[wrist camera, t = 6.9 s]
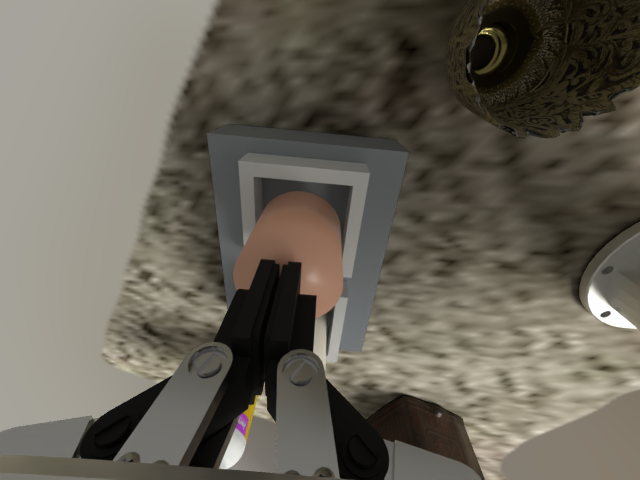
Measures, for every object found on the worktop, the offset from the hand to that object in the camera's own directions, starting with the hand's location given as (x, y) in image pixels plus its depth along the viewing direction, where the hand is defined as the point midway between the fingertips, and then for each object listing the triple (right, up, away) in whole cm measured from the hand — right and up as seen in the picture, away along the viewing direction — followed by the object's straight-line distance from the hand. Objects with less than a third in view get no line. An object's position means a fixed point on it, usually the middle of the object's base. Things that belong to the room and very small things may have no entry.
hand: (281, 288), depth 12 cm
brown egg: (0, +3, +5) cm, 5 cm away
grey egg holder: (0, +2, +13) cm, 13 cm away
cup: (+12, +14, +6) cm, 19 cm away
